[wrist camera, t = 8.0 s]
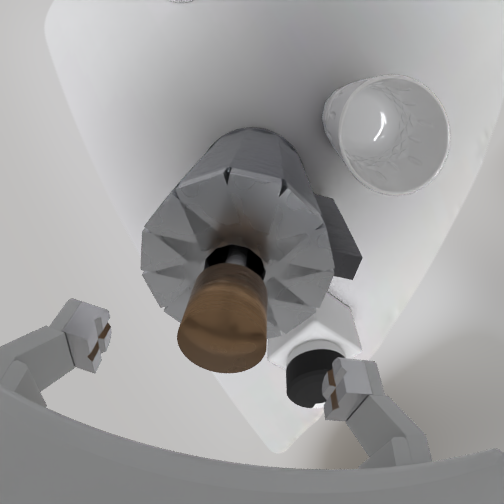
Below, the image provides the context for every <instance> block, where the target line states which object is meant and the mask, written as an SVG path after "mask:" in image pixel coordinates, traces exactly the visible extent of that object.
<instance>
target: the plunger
mask: <svg viewBox="0 0 504 504" xmlns="http://www.w3.org/2000/svg"><path fill="white" fill-rule="evenodd" d="M247 253H248V248H247V247H243V246H238V245H233V244H231V245H230V247H229V251H228V255H227V259H226V263H221V264H216V265H213V266H211V267H208V268H207V269H205V270H204V271H203V272H201V273H200V275H199V276H198V277H197V279H196V281H195V283H194V286H193V289H192V292H191V295H190V298H189V301H188V303H187V306H186V309H185V312H184V315H183V318H182V321H181V324H180V327H179V330H178V335H177V340H178V344H179V347H180V349H181V351H182V352H183V354H184V355H185V356H186V357H187V358H188V359H189V360H190V361H191V362H193V363H194V364H196V365H198V366H199V367H202V368H204V369H207V370H210V371H213V372H219V373H237V372H242V371H245V370H248V369H250V368H252V367H254V366H255V365H257V364H258V363H259V362H260V361H261V360H262V358H263V357H264V355H265V352H266V343H267V303H268V293H267V288H266V285H265V283H264V282H263V280H262V279H261V278H260V276H259V275H258V274H256V273H255V272H254V271H252V270H251V269H249V268H247V267H246V260H247Z"/></svg>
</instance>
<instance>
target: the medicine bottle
mask: <svg viewBox="0 0 504 504" xmlns="http://www.w3.org/2000/svg"><path fill="white" fill-rule="evenodd" d="M361 352H362V347H361V344H360V340H359V336H358V333H357V329H356V326H355V322H354V319H353V315H352V312H351V309H350V308H349V307H347V306H346V305H344V304H343V303H342V302H340V301H339V300H337V299H336V298H335V297H333V296H332V295H330V294H329V293H328V292H326V295H325V297H324V299H323V301H322V304H321V306H320V308H316V313H314V314H313V315H312V316H310V317H309V318H308V319H306V320H305V321H304V322H302V323H301V324H299V325H298V326H297V327H295V328H294V329H292V330H291V331H290V332H288V333H287V334H285V333H284V332H282V331H281V336H279V337H274V338H269V339H268V352H267V359H268V361H269V362H271V363H273V364H275V365H277V366H278V367H280V368H282V369H284V370H286V384H287V396H288V397H289V399H290V400H291V401H293V402H294V403H295V404H297V405H299V406H302V407H306V408H322V407H324V404H325V402H326V401H327V400H326V399H325V397H324V396H323V394H322V383H323V380H324V377H325V375H326V373H327V371H329V370H331V369H333V367H332V363H333V362H334V360H335V359H336V358H337V357H339V358H348V359H353V358H354V357H356V356H357V355H358V354H360V353H361Z"/></svg>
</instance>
